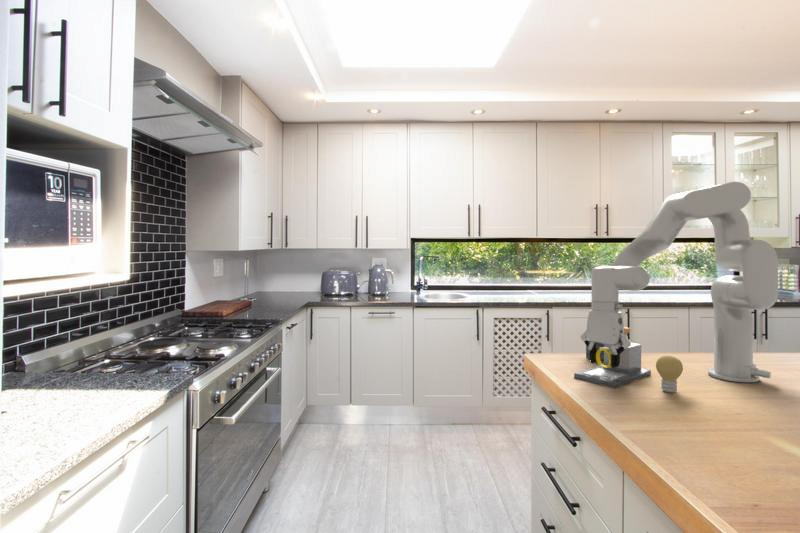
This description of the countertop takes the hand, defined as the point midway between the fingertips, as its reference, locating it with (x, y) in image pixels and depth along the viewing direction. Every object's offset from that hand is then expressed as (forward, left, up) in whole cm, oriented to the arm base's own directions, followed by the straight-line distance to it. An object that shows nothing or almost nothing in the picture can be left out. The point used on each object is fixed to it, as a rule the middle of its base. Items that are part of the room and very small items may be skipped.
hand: (604, 364), depth 131 cm
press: (0, -5, -5) cm, 7 cm away
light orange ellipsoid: (0, -11, +2) cm, 11 cm away
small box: (+13, -23, -5) cm, 27 cm away
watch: (0, 0, -1) cm, 1 cm away
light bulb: (-17, -3, -5) cm, 18 cm away
